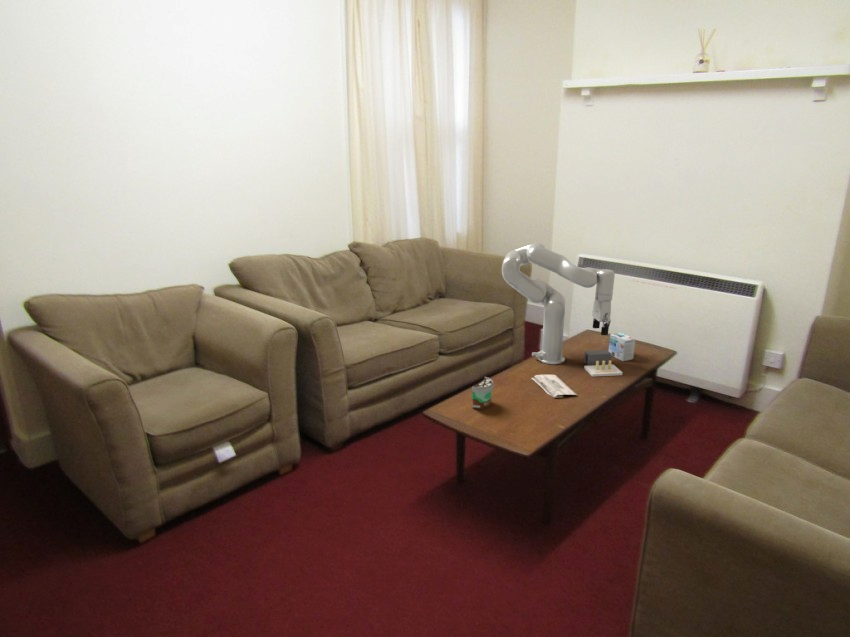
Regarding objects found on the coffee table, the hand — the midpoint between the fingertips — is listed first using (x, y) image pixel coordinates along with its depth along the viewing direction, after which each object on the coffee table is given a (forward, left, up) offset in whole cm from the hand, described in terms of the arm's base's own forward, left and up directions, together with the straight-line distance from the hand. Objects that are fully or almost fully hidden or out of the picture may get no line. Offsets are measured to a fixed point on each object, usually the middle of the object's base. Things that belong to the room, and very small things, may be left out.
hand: (600, 331), depth 265 cm
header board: (-1, -10, -16) cm, 19 cm away
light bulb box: (+15, +7, -17) cm, 23 cm away
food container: (-62, -38, -17) cm, 75 cm away
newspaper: (-29, -24, -17) cm, 41 cm away
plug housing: (0, 0, -16) cm, 16 cm away
